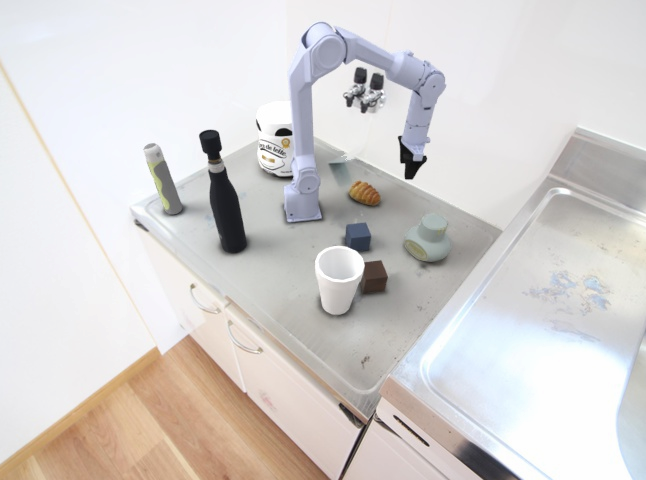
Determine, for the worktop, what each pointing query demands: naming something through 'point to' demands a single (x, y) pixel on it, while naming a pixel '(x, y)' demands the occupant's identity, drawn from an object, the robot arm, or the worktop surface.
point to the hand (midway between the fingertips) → (406, 170)
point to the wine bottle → (223, 196)
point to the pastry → (364, 193)
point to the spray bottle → (162, 178)
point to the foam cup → (338, 277)
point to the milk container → (275, 138)
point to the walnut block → (373, 277)
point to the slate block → (358, 236)
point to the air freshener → (429, 238)
